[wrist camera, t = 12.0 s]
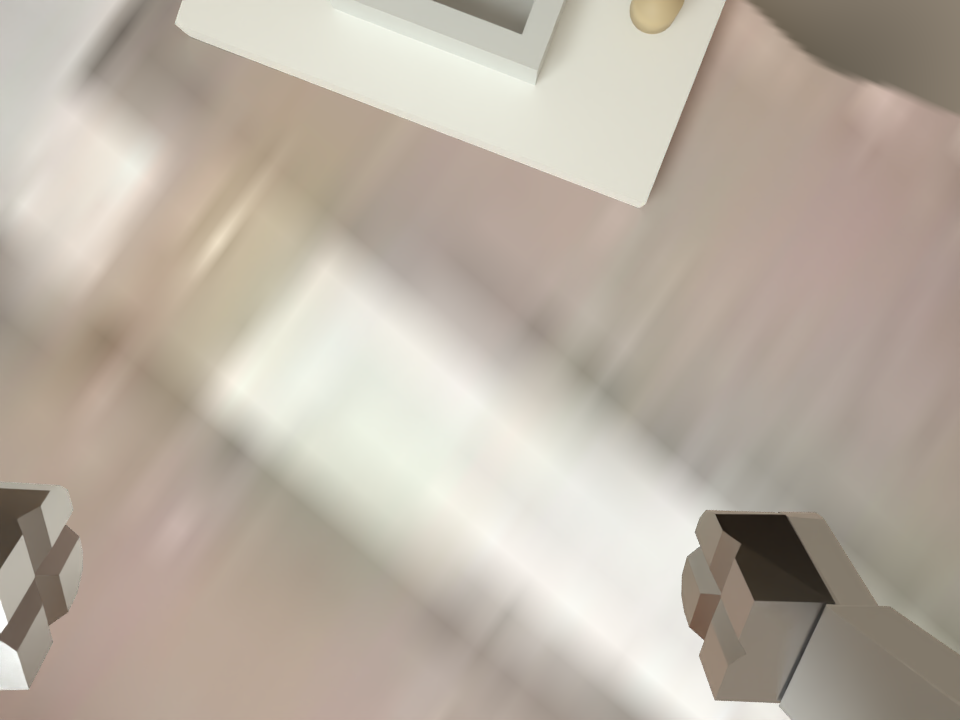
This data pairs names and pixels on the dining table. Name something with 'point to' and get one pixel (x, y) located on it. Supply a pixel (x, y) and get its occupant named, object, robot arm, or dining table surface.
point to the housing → (495, 71)
